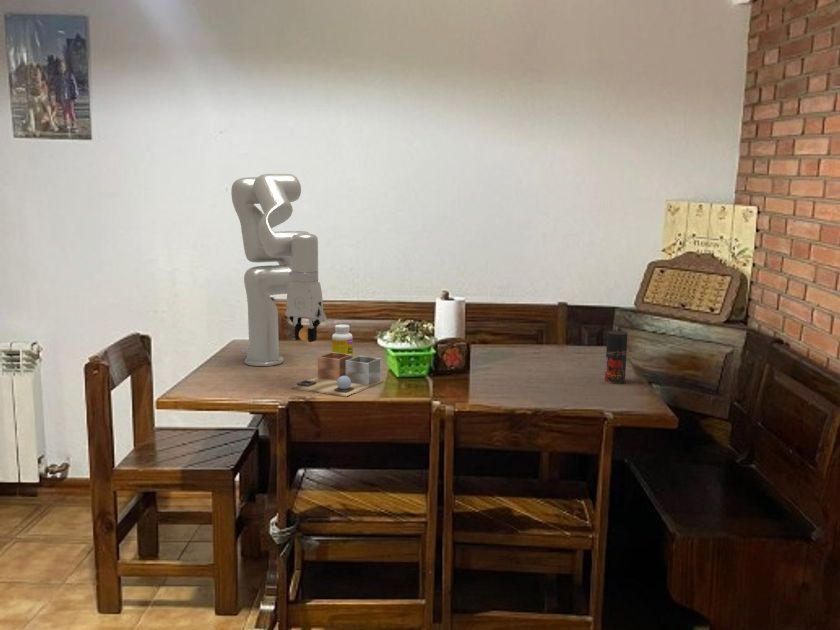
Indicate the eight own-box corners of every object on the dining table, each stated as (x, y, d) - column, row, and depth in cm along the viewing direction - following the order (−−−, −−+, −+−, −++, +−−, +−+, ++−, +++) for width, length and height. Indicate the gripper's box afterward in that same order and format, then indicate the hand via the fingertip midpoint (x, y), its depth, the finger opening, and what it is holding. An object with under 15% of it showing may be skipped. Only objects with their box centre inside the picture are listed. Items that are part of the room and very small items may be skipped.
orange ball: (295, 341, 234) (295, 327, 233) (304, 338, 238) (303, 325, 237) (307, 342, 232) (307, 329, 232) (315, 340, 236) (315, 326, 235)
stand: (291, 388, 235) (290, 364, 234) (330, 373, 252) (330, 351, 251) (346, 397, 226) (346, 372, 225) (383, 381, 243) (383, 358, 242)
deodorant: (600, 379, 247) (603, 331, 245) (617, 378, 250) (619, 330, 247) (612, 384, 242) (614, 335, 239) (629, 382, 244) (631, 333, 242)
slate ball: (334, 390, 230) (334, 376, 229) (342, 387, 234) (341, 373, 233) (346, 392, 228) (346, 378, 228) (353, 388, 232) (353, 375, 231)
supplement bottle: (349, 367, 260) (349, 328, 258) (329, 366, 262) (329, 327, 259) (355, 362, 267) (355, 324, 265) (335, 361, 268) (335, 323, 266)
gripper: (273, 276, 232) (274, 339, 236) (321, 281, 224) (322, 346, 228) (289, 273, 239) (290, 334, 242) (336, 278, 231) (337, 341, 234)
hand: (305, 339), depth 235 cm, fingers closed on orange ball, 3 cm apart
